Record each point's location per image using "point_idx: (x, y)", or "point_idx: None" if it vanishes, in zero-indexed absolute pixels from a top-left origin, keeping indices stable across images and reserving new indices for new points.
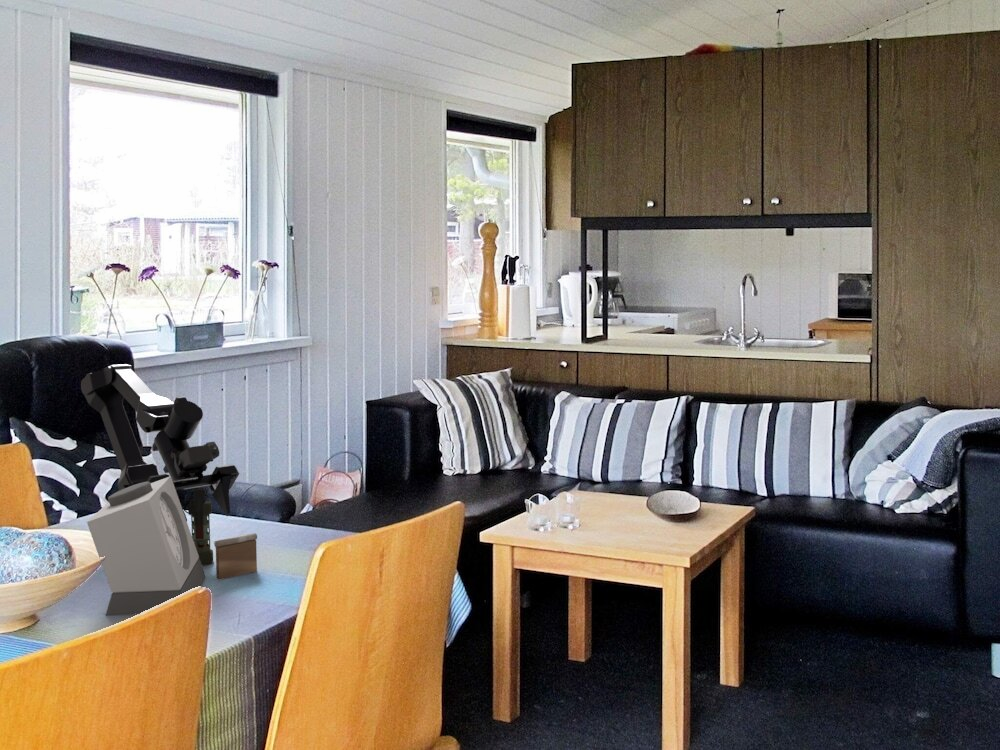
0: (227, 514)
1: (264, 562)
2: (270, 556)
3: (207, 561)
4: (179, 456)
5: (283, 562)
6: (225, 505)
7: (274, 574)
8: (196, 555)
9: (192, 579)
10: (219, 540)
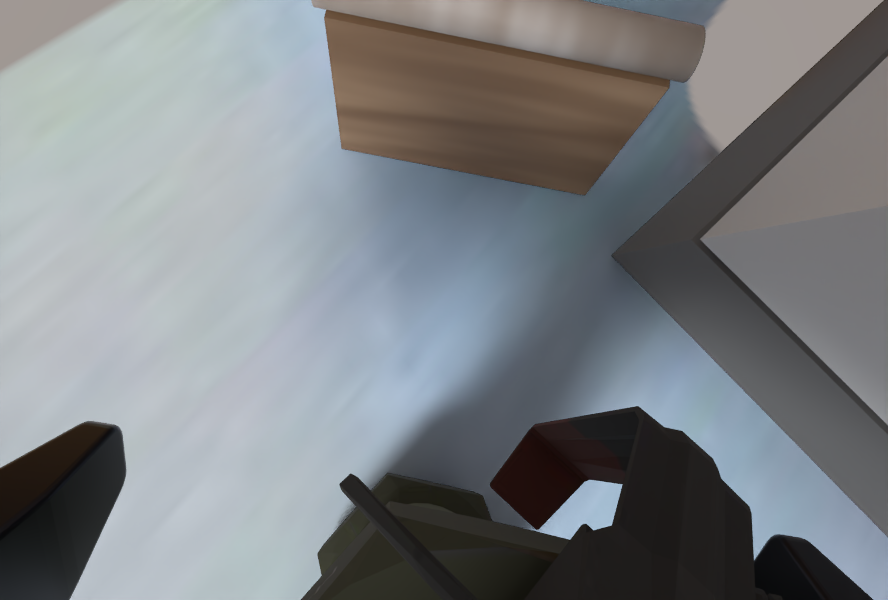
0: (122, 453)
1: (170, 221)
2: (25, 295)
3: (426, 481)
4: None
5: (109, 128)
6: (28, 526)
7: None
8: (759, 198)
9: (878, 42)
10: (673, 27)
